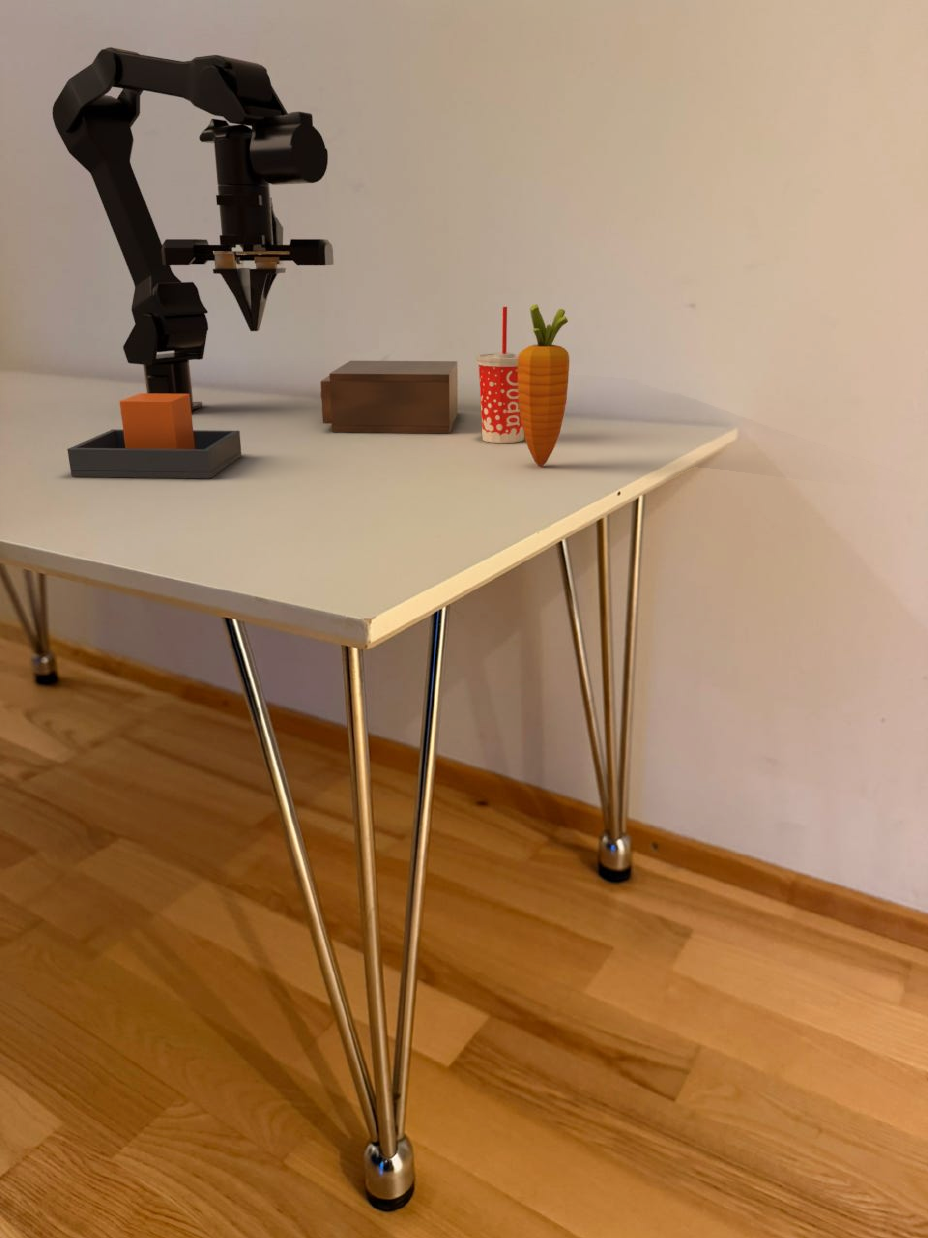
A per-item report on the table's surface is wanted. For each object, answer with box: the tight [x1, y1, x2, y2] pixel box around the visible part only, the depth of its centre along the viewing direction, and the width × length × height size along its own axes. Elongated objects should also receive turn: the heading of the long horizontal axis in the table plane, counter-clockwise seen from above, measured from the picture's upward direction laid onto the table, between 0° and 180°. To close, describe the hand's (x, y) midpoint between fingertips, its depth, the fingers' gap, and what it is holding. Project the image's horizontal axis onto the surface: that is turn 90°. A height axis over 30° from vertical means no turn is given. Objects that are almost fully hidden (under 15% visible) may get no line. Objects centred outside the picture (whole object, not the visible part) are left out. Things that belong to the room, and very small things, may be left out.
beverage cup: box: [475, 306, 525, 444], centre depth 103 cm, size 6×6×14 cm
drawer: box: [319, 375, 332, 424], centre depth 114 cm, size 14×12×5 cm
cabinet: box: [328, 360, 459, 434], centre depth 114 cm, size 14×14×7 cm
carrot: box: [518, 304, 570, 468], centre depth 89 cm, size 5×5×15 cm
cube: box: [119, 392, 195, 449], centre depth 91 cm, size 5×5×6 cm
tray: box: [66, 428, 243, 479], centre depth 92 cm, size 10×13×3 cm
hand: (254, 330), depth 112 cm, fingers closed
